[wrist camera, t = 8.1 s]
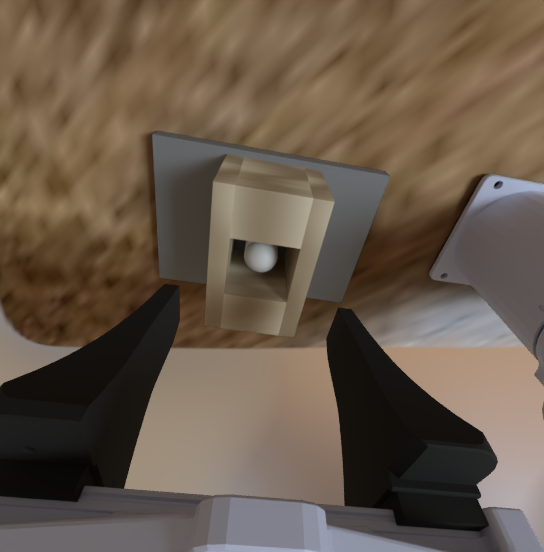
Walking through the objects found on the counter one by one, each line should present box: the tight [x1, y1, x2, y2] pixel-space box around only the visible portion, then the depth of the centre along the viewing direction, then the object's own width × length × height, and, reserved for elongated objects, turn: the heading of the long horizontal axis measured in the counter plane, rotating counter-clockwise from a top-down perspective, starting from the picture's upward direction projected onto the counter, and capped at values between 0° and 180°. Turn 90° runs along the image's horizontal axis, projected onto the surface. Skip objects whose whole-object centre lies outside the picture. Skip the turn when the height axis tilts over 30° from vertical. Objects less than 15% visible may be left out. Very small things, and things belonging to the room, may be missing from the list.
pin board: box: [152, 131, 390, 302], centre depth 19 cm, size 14×10×5 cm
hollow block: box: [204, 154, 334, 337], centre depth 19 cm, size 6×9×5 cm, turn 170°
